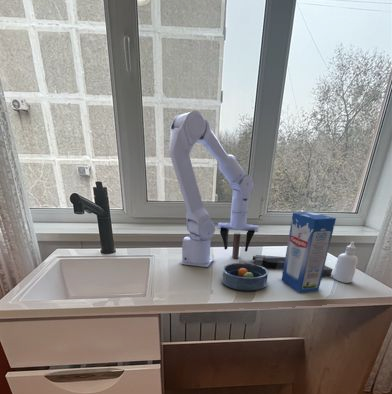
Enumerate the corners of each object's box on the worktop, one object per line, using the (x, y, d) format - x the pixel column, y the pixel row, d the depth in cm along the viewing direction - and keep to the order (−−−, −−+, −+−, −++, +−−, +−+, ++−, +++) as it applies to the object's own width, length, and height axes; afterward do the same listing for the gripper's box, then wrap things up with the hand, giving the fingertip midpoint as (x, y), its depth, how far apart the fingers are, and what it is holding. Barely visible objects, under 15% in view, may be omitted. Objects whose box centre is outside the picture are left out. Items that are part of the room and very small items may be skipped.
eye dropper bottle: (344, 277, 92) (354, 239, 87) (353, 283, 88) (365, 244, 82) (330, 276, 92) (340, 239, 86) (339, 283, 87) (350, 244, 82)
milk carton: (281, 280, 89) (292, 212, 79) (298, 278, 90) (312, 212, 81) (299, 292, 80) (315, 219, 71) (318, 290, 82) (336, 218, 72)
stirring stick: (231, 258, 108) (233, 233, 104) (232, 256, 110) (234, 232, 106) (237, 258, 107) (240, 234, 103) (238, 256, 109) (241, 233, 105)
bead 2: (252, 281, 87) (244, 284, 86) (248, 272, 87) (240, 275, 86) (257, 279, 84) (248, 282, 83) (253, 269, 84) (244, 272, 83)
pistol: (334, 272, 89) (325, 258, 102) (252, 265, 93) (253, 253, 106) (333, 279, 90) (324, 264, 103) (251, 272, 94) (252, 258, 107)
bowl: (217, 288, 82) (218, 274, 80) (226, 273, 93) (227, 261, 91) (264, 294, 79) (266, 280, 77) (267, 278, 90) (269, 265, 88)
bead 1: (241, 281, 88) (235, 273, 87) (242, 276, 90) (236, 269, 89) (249, 276, 87) (243, 269, 85) (250, 271, 89) (244, 264, 88)
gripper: (261, 211, 102) (256, 248, 109) (221, 208, 106) (219, 245, 112) (259, 214, 96) (254, 253, 103) (217, 211, 100) (215, 250, 106)
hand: (235, 249), depth 107 cm, fingers open, 7 cm apart
